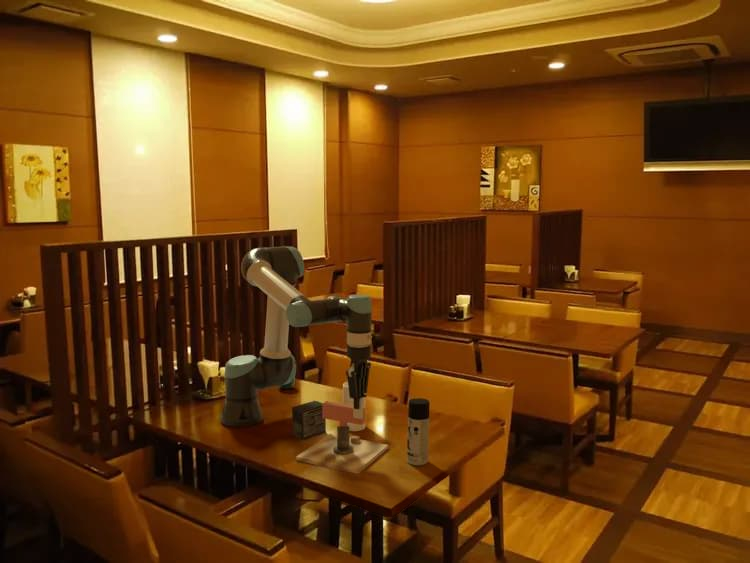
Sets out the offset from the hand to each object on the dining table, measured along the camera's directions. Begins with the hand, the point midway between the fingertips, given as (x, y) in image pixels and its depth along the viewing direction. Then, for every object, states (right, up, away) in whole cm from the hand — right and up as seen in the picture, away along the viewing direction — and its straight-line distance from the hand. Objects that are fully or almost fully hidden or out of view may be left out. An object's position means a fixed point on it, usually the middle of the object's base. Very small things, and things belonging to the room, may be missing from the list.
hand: (358, 417), depth 201 cm
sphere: (-33, -3, +74) cm, 81 cm away
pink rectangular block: (-5, -4, +4) cm, 8 cm away
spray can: (+19, -14, +1) cm, 24 cm away
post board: (-5, -13, +6) cm, 15 cm away
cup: (-2, -10, +30) cm, 32 cm away
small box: (-18, -11, +23) cm, 31 cm away
